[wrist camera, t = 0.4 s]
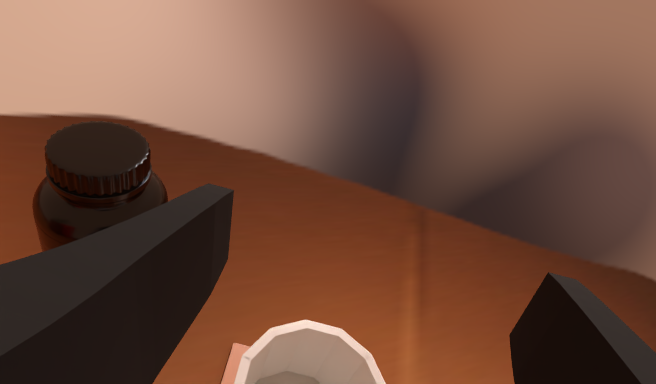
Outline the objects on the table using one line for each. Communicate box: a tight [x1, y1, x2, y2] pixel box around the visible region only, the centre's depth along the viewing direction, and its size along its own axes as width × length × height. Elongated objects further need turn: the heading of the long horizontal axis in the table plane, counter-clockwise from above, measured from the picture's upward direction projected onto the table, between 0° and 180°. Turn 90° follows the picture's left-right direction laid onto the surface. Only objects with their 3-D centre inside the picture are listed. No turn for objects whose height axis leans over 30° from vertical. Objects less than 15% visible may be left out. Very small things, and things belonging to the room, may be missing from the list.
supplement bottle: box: [32, 121, 168, 252], centre depth 25 cm, size 7×7×12 cm
